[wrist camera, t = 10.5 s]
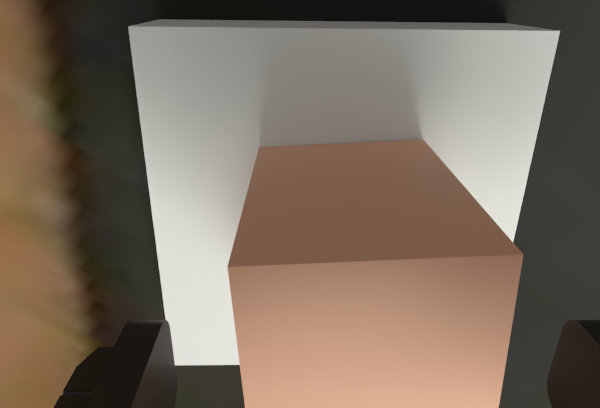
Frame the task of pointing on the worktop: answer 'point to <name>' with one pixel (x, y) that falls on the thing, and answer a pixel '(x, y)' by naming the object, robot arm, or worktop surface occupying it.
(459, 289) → the terracotta block
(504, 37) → the white block
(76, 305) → the worktop surface
